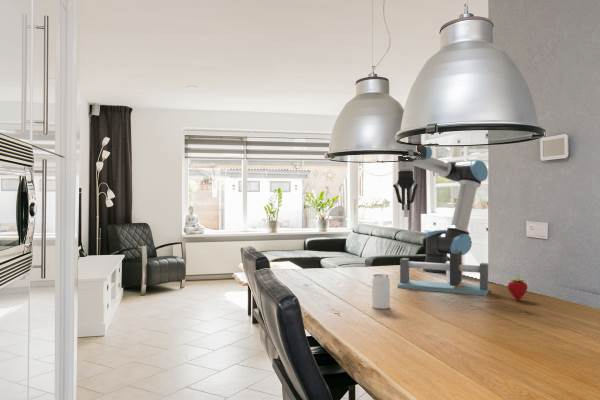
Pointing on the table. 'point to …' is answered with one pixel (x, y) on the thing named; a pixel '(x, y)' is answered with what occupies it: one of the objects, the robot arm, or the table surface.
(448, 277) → the white cup
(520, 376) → the table surface
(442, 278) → the table surface
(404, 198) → the robot arm
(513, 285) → the strawberry
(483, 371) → the table surface
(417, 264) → the pipe stand
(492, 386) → the table surface
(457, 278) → the dark grey square plate
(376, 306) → the can
